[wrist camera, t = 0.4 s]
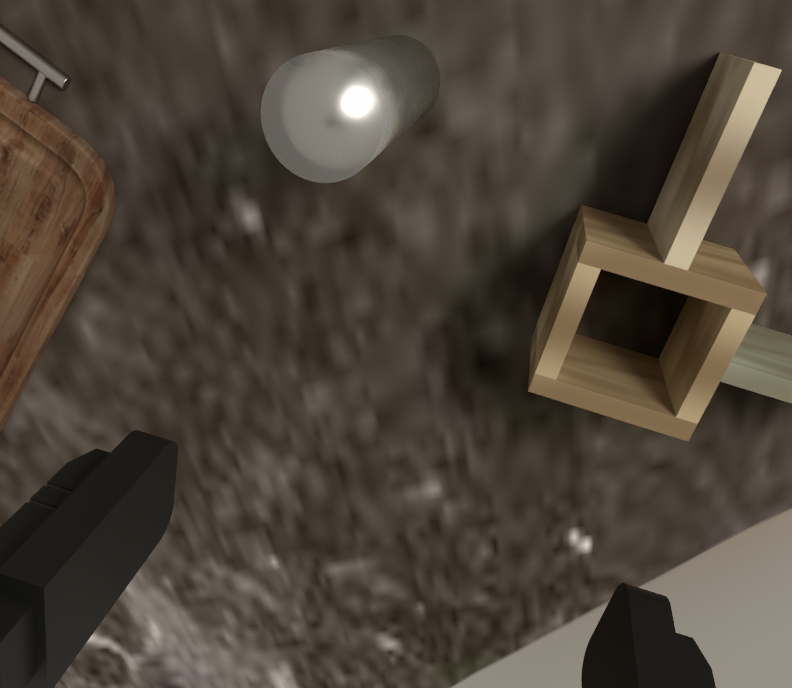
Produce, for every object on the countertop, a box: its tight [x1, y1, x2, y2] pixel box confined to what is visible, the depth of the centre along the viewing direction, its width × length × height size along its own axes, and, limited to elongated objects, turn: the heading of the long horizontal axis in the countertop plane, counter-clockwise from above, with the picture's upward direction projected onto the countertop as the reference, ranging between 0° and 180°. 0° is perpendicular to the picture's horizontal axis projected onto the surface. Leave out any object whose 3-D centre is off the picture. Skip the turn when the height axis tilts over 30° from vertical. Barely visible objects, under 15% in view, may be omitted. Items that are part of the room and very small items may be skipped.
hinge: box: [528, 52, 792, 441], centre depth 32 cm, size 16×16×6 cm
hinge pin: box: [261, 35, 440, 183], centre depth 28 cm, size 4×4×13 cm
